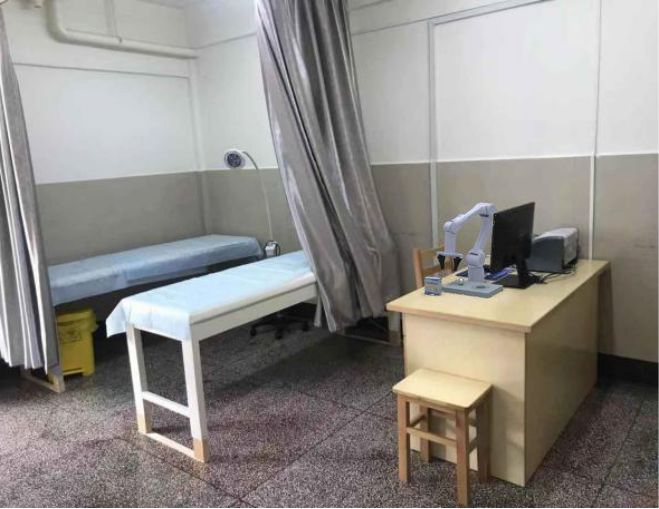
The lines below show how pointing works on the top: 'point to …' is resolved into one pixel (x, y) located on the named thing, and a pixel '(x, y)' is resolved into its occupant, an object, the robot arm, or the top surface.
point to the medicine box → (433, 285)
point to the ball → (461, 281)
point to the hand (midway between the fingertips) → (448, 270)
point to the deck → (472, 288)
